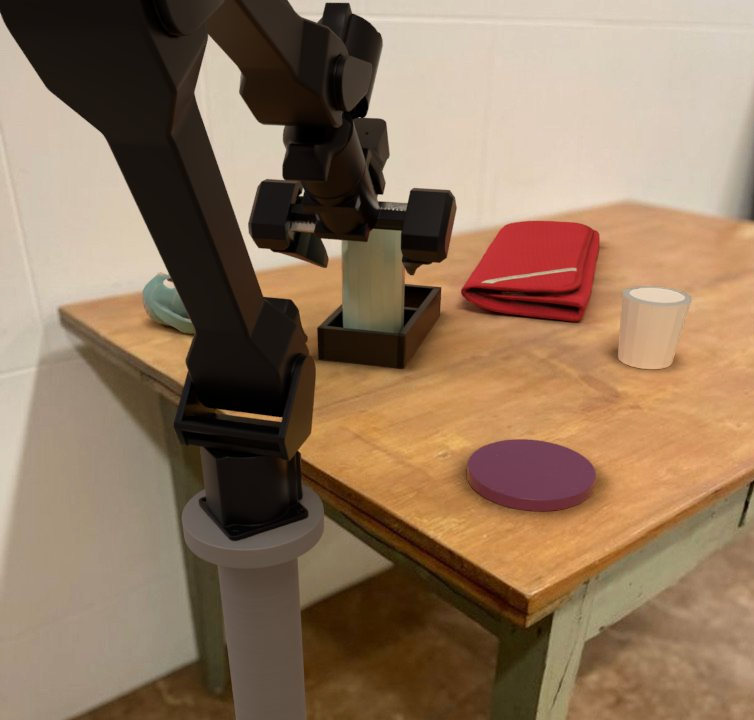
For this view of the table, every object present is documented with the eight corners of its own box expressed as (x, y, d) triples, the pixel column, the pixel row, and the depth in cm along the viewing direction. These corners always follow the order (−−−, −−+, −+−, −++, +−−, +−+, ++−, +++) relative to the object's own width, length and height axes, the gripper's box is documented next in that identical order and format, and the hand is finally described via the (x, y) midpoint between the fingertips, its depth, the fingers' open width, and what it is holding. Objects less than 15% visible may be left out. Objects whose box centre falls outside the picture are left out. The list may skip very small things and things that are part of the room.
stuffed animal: (249, 289, 89) (136, 270, 87) (242, 351, 92) (133, 334, 90) (253, 263, 98) (151, 245, 96) (246, 320, 101) (147, 304, 99)
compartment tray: (403, 369, 84) (404, 336, 82) (317, 359, 86) (316, 327, 84) (440, 315, 99) (441, 286, 97) (365, 308, 101) (365, 280, 99)
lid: (524, 525, 59) (526, 513, 58) (441, 469, 66) (442, 458, 65) (621, 488, 63) (623, 477, 63) (534, 439, 71) (535, 429, 70)
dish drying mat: (600, 243, 130) (604, 218, 128) (586, 324, 96) (591, 292, 94) (502, 236, 133) (504, 212, 131) (455, 312, 100) (457, 281, 98)
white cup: (633, 343, 91) (644, 280, 87) (690, 359, 87) (704, 294, 83) (599, 359, 87) (609, 293, 83) (657, 376, 83) (671, 309, 79)
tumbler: (394, 362, 86) (396, 224, 78) (335, 356, 87) (332, 219, 80) (408, 342, 91) (412, 210, 83) (353, 336, 92) (352, 206, 85)
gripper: (459, 89, 67) (473, 202, 82) (250, 82, 71) (299, 191, 86) (434, 208, 65) (453, 303, 80) (220, 194, 69) (276, 286, 84)
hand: (369, 267), depth 83 cm, fingers open, 9 cm apart
